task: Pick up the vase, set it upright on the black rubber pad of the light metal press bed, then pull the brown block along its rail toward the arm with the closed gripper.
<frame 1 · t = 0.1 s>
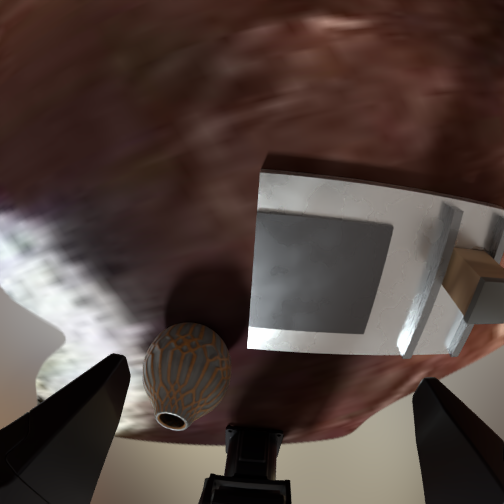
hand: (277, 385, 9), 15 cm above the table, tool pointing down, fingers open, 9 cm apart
brown block: (478, 284, 19), point 4 cm above the table, slide at 0.0 cm
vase: (196, 339, 27), on the table
press bed: (379, 275, 23), on the table
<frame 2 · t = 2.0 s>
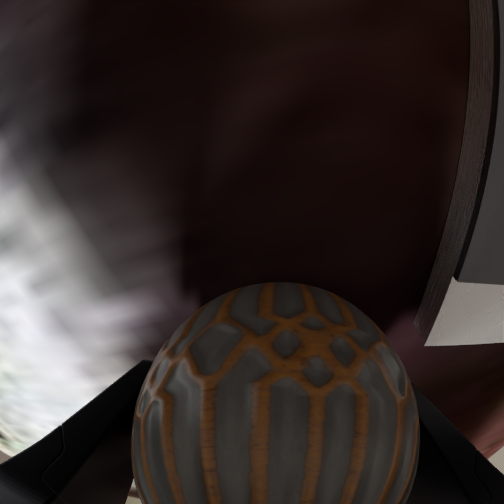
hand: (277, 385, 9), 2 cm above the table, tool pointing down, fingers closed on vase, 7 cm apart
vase: (278, 335, 11), on the table, touching gripper
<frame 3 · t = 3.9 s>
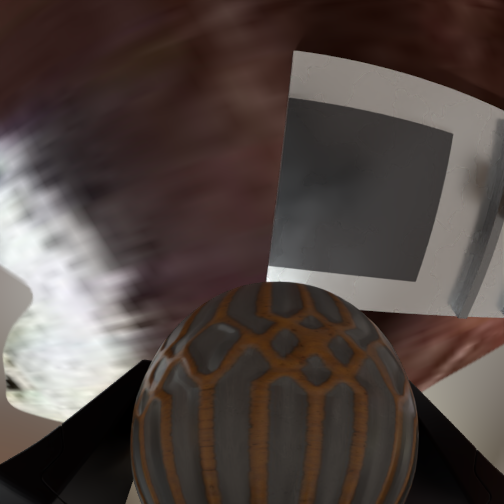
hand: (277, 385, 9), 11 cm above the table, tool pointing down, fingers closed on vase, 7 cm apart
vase: (276, 335, 11), point 9 cm above the table, touching gripper
press bed: (433, 205, 17), on the table
when the fingers open (5 cm above the table, at t = 5.9 s): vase drops 1 cm, resting on press bed.
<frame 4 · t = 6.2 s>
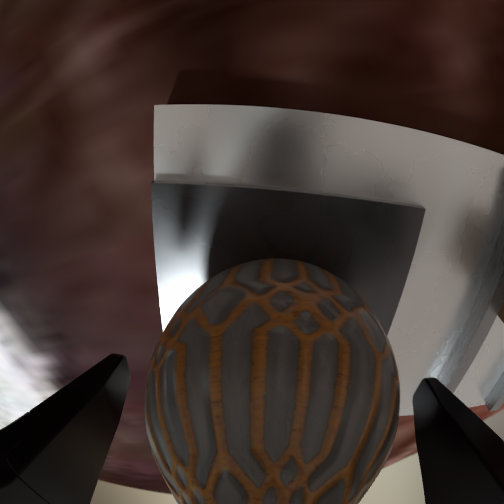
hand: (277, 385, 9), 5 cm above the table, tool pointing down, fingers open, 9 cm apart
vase: (277, 312, 12), point 1 cm above the table, touching press bed
press bed: (394, 298, 13), on the table
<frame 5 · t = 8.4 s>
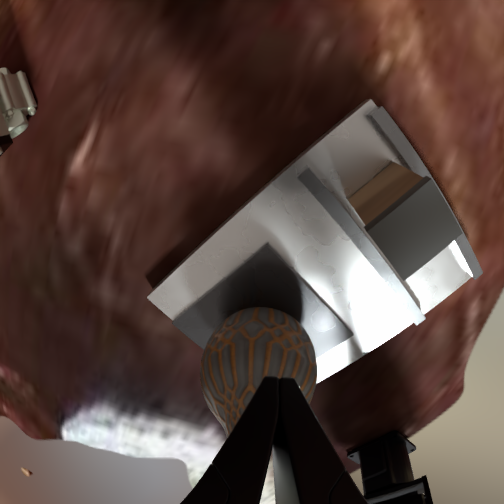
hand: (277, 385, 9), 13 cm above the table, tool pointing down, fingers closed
pneumatic valve: (18, 104, 18), on the table
brown block: (400, 214, 15), point 4 cm above the table, slide at 0.0 cm
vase: (262, 330, 22), point 1 cm above the table, touching press bed
press bed: (319, 278, 21), on the table
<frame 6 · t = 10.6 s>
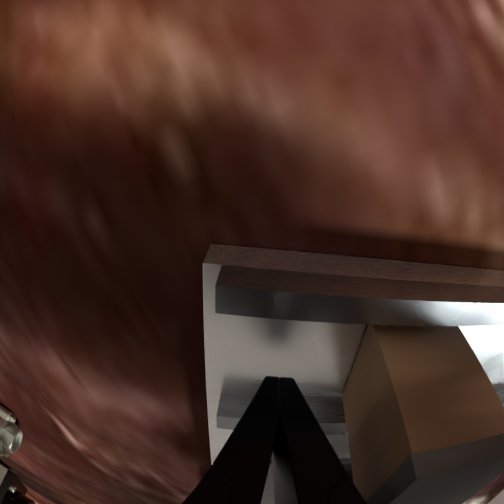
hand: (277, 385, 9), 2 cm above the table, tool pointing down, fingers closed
pneumatic valve: (2, 410, 18), on the table
brown block: (417, 422, 7), point 4 cm above the table, slide at 1.2 cm, touching gripper
press bed: (358, 434, 13), on the table
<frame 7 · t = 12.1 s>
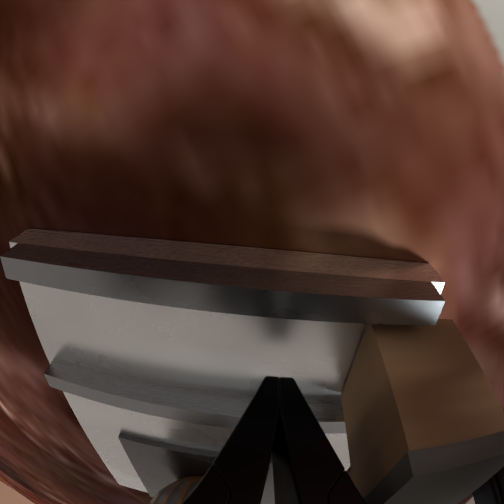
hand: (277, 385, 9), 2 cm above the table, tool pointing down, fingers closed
brown block: (415, 421, 7), point 4 cm above the table, slide at 8.3 cm, touching gripper
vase: (213, 485, 15), point 1 cm above the table, touching press bed
press bed: (212, 426, 14), on the table
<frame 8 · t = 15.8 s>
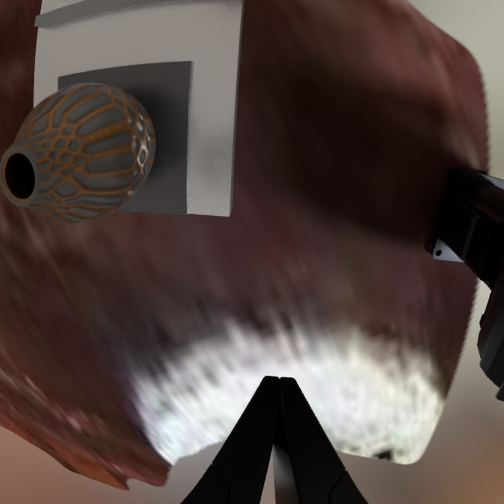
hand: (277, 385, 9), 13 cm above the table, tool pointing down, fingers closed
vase: (118, 140, 17), point 1 cm above the table, touching press bed
press bed: (128, 61, 16), on the table
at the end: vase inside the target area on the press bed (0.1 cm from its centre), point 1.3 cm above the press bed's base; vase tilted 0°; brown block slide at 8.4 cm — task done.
